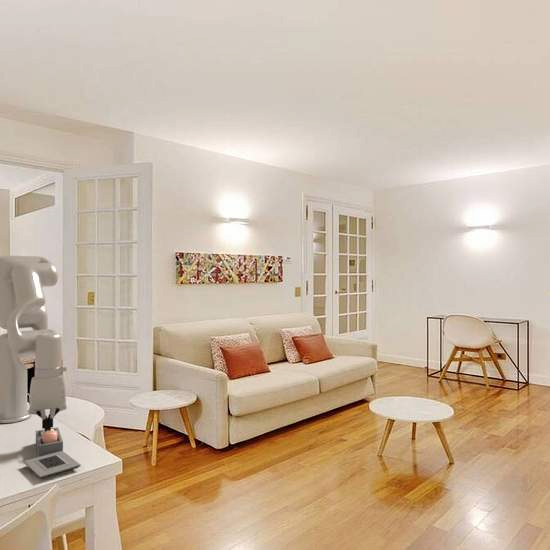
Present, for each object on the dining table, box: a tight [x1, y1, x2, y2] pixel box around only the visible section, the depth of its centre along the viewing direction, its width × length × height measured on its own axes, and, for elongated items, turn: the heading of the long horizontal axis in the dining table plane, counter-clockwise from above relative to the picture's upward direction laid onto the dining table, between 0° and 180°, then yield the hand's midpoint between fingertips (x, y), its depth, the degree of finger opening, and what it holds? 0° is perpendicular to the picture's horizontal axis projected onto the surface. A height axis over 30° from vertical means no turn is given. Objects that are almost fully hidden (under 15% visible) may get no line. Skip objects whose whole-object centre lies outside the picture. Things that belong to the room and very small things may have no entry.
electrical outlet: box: [23, 450, 81, 480], centre depth 127 cm, size 13×10×2 cm
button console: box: [35, 427, 64, 457], centre depth 141 cm, size 14×6×4 cm, turn 31°
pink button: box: [43, 430, 57, 444], centre depth 138 cm, size 4×4×4 cm
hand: (47, 430), depth 144 cm, fingers closed
